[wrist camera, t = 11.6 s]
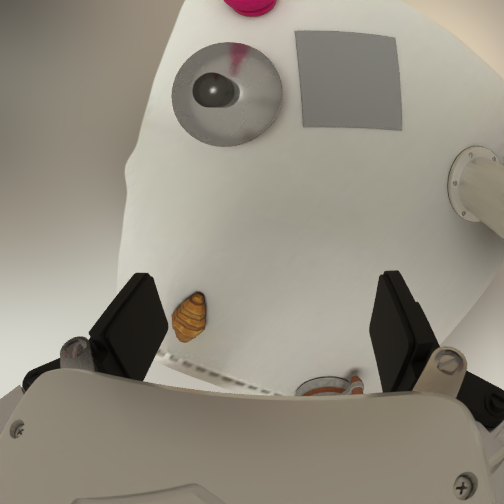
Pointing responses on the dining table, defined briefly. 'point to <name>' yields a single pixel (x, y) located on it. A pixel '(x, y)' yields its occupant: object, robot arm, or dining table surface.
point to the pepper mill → (251, 6)
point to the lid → (226, 94)
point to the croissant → (189, 318)
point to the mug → (331, 387)
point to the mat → (349, 80)
